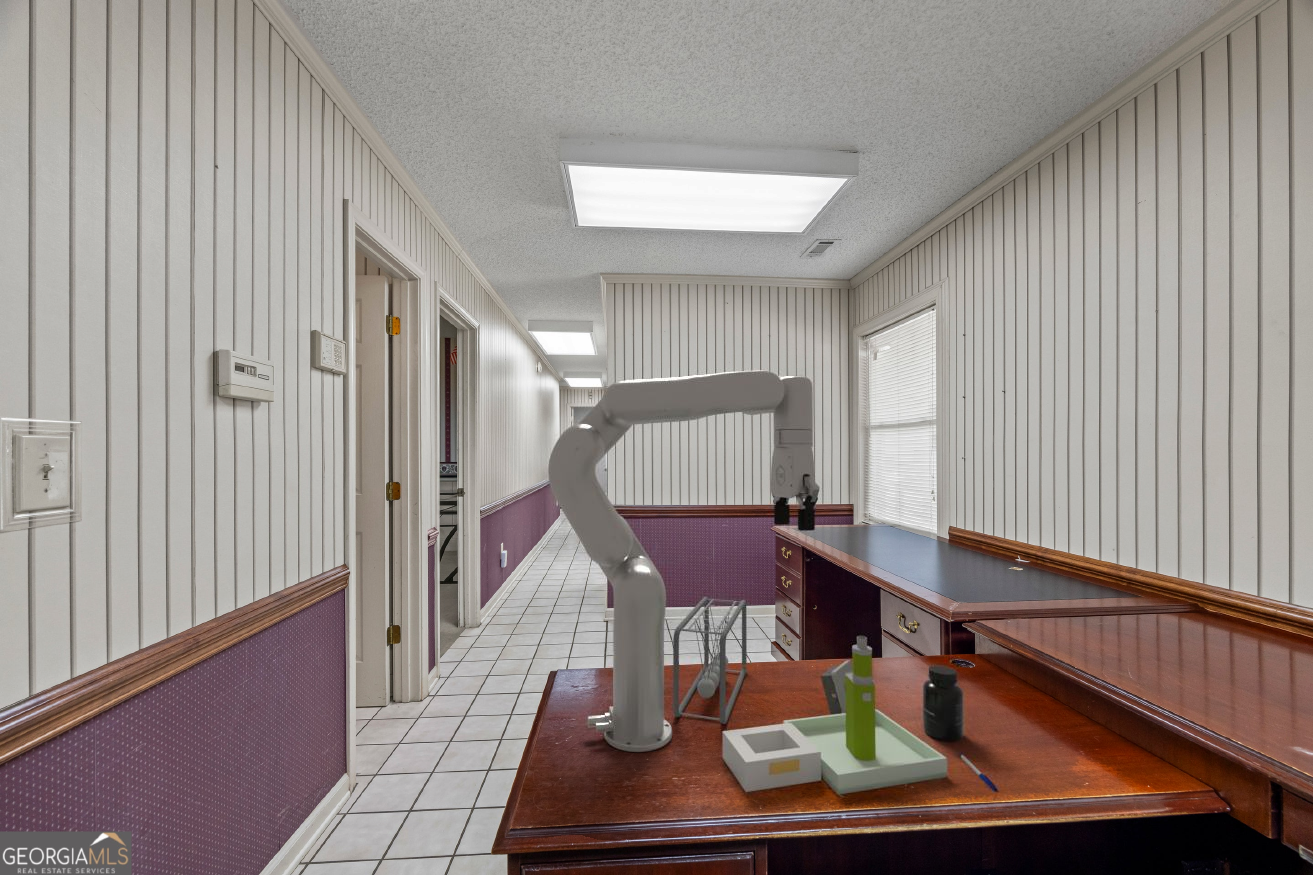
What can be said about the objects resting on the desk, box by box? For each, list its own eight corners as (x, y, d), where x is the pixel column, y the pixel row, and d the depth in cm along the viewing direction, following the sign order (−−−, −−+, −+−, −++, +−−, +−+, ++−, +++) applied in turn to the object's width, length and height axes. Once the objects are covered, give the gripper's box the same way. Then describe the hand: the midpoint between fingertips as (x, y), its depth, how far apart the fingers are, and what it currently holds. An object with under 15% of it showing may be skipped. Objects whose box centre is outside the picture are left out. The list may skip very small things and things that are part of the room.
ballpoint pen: (999, 792, 85) (999, 786, 85) (994, 792, 85) (994, 786, 85) (961, 756, 96) (961, 750, 96) (956, 756, 96) (956, 750, 96)
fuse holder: (746, 792, 84) (746, 762, 84) (722, 757, 94) (722, 731, 94) (822, 781, 87) (821, 752, 88) (791, 748, 97) (790, 722, 98)
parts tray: (838, 794, 84) (837, 774, 84) (783, 737, 101) (783, 720, 101) (947, 776, 89) (946, 757, 89) (876, 724, 106) (876, 709, 106)
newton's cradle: (704, 666, 136) (704, 594, 137) (746, 671, 133) (746, 597, 134) (672, 721, 108) (672, 629, 108) (725, 729, 105) (724, 635, 105)
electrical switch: (848, 723, 107) (843, 673, 108) (822, 717, 110) (818, 670, 111) (864, 706, 114) (859, 660, 115) (839, 702, 118) (835, 657, 119)
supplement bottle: (918, 734, 103) (917, 669, 103) (929, 721, 108) (928, 659, 108) (958, 747, 98) (957, 679, 99) (968, 733, 103) (967, 668, 104)
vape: (857, 761, 92) (856, 641, 92) (843, 743, 98) (842, 630, 98) (879, 761, 92) (877, 640, 93) (863, 743, 98) (862, 629, 99)
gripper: (756, 441, 115) (757, 522, 114) (797, 437, 98) (798, 533, 98) (789, 441, 117) (789, 522, 116) (834, 438, 100) (835, 532, 99)
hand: (793, 527), depth 107 cm, fingers open, 9 cm apart
